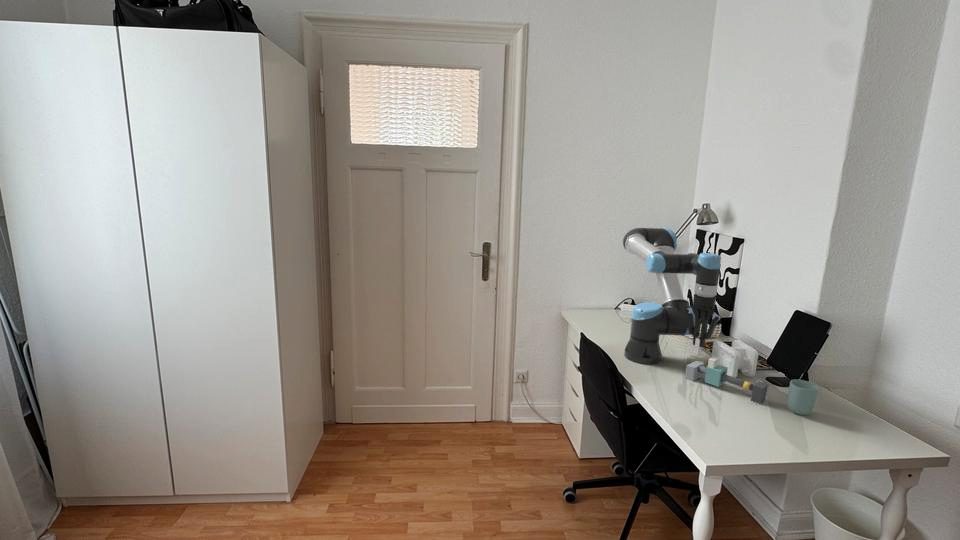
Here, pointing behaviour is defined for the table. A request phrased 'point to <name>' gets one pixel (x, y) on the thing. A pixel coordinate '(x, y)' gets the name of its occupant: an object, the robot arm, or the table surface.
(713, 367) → the sleeve
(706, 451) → the table surface
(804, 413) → the cup
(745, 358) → the cable organizer
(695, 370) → the grey slab
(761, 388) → the block
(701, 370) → the grey rod
